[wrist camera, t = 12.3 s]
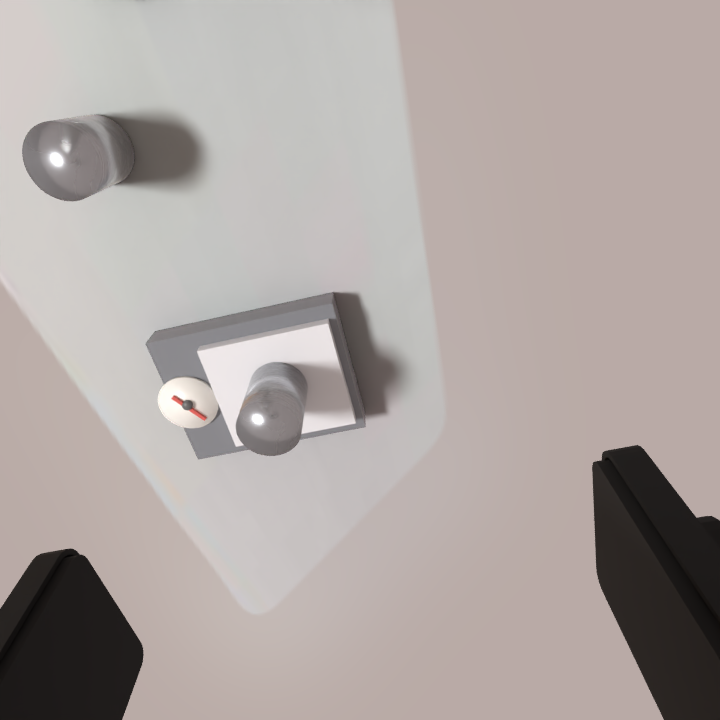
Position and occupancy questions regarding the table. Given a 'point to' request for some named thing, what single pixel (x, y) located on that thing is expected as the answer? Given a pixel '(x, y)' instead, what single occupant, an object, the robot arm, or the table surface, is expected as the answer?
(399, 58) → the table surface
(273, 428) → the cylinder
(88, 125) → the cylinder
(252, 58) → the table surface
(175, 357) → the scale
